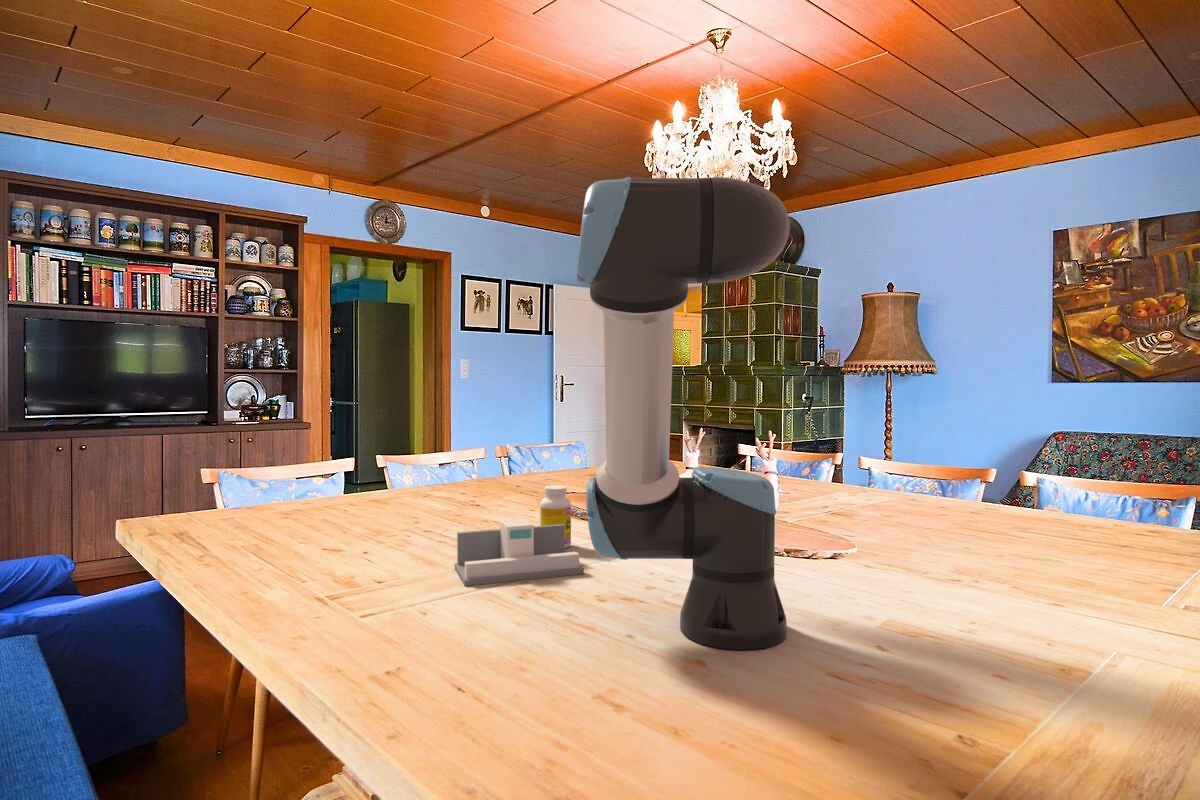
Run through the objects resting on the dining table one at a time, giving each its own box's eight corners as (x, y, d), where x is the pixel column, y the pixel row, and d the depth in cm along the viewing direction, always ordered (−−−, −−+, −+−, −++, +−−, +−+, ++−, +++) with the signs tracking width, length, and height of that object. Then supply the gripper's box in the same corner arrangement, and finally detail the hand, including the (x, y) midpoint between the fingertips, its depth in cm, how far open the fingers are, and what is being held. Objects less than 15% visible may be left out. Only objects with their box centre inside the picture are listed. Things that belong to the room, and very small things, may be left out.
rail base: (583, 573, 133) (583, 536, 132) (464, 586, 125) (464, 546, 125) (564, 558, 144) (564, 523, 144) (454, 568, 136) (454, 532, 136)
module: (533, 567, 133) (533, 525, 133) (507, 570, 132) (507, 527, 131) (526, 559, 139) (525, 518, 139) (500, 561, 137) (500, 520, 137)
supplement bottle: (570, 550, 150) (569, 489, 150) (538, 550, 150) (538, 489, 150) (571, 542, 157) (571, 484, 156) (541, 542, 157) (541, 484, 157)
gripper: (663, 289, 135) (663, 414, 136) (598, 286, 130) (598, 416, 131) (681, 285, 128) (680, 416, 128) (612, 281, 123) (612, 418, 124)
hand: (639, 416), depth 130 cm, fingers closed
